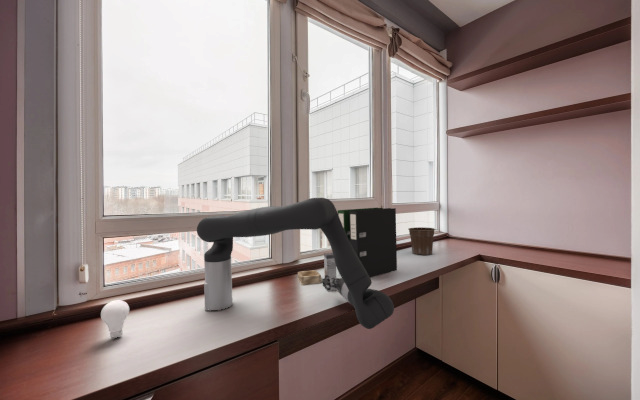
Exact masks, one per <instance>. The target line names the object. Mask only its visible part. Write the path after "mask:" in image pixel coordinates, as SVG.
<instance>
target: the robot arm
mask: <svg viewBox="0 0 640 400" xmlns="http://www.w3.org/2000/svg"><path fill="white" fill-rule="evenodd" d="M289 230H290V231H291V230H321V232H322V233H323V234H324V236H325V237H326V239H327V241H328V244H329V245H330V248H331V251H332V252H331V253H333V256H334V260H335V264H336V270H337V271H338V273H340V274H339V275H340V277H337V276H336V277H333V278H330V277H329V276H328V275H325V274H324V277H323V278H322V287H324V289H325V288H326V289H327V290H331V288H332V287H334V288H336V289H337V292H338V293H339V294H340V295H341V297H342V298H344V299H345V301H346V302H347V303H349V304H350V305H351V306H353V308H354V312H355V315H356V318H357V321H358V322H359V324H360V325H361V326H362V327H363V328H365V329H367V330H372V329H374V328H375V327H377V326H378V325H380V324H381V323H382V322H384V321H385V320H387V319H388V318H390V317H392V316H393V313H394V311H395V310H394V309H395V306H394V303H393V300H392V299H391V298H390V296H389V295H388V294H386V293H385V292H383V291H382V290H379V289H378V290H377V289H373V288H370V287H371V286H372V283H373V281H372V279H371V278H372V277H371V278H370V277H369V275H368V274H367V271H366V270H365V268H364V266H363V265H362V263H361V261H360V260H359V258H358V256H357V254H356V253H355V251H354V249H353V247H352V245H351V243H350V241H349V239H348V237H347V235H346V232H345V230H344V228H343V226H342V223H341V221H340V218H339V215H338V209H337V208H336V207H335V204H334V203H333V201H331V200H330V199H329V198H326V197H311V198H307V199H304V200H301V201H298V202H295V203H292V204H288V205H283V206H282V205H281V206H280V205H279V206H277V205H276V206H274V205H273V206H263V207H257V208H252V209H248V210H244V211H240V212H236V213H234V214H233V213H232V214H230V215H220V214H219V215H212V216H207V217H204V218H202V219H201V220H200V221H199V222H198V224H197V226H196V235H197V236H198V238H200V239H201V241H204V242H205V243H212V245H211V246H210V248H209V249H208V250H207V251H205V252H204V255H203V260H204V261H203V262H204V265H203V266H204V284H203V287H204V288H203V290H204V292H203V293H204V294H203V295H204V311H211V310H218V311H222V310H221V309H223V310H226V309H229V308H231V307H232V306H233V274H232V253H233V250H234V238H251V237H255V238H256V237H262V236H270V235H275V234H278V233H281V232H284V231H289ZM330 280H331V282H330ZM335 280H336V281H335ZM326 289H325V290H326ZM327 290H326V291H327ZM231 305H232V306H231ZM228 307H229V308H228ZM225 308H226V309H225ZM208 309H209V310H208Z"/></svg>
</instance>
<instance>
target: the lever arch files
mask: <svg viewBox="0 0 640 400" xmlns="http://www.w3.org/2000/svg"><path fill="white" fill-rule="evenodd" d="M396 211H397V208H396V207H394V208H392V207H388V208H387V207H386V208H383V207H368V208H367V207H366V208H365V207H364V208H355V209H354V208H353V209H337V213H338V215H339V218H340V221H341V223H342V226H343V228H344V230H345V232H346V235H347V237H348V239H349V241H350V243H351V245H352V247H353V249H354V251H355V253H356V254H357V256H358V258H359V260H360V261H361V263H362V265H363V266H364V268H365V270H366V271H367V274H368V275H369V277H370V278H374V277H378V276H381V275H385V274H389V273H392V272H395V271H397V270H398V258H397V254H398V253H397V212H396ZM338 273H339V272H338ZM339 275H340V273H339Z"/></svg>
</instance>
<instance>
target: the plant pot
mask: <svg viewBox="0 0 640 400" xmlns="http://www.w3.org/2000/svg"><path fill="white" fill-rule="evenodd" d="M435 230H436V229H435V227H420V226H419V227H409V228H408V232H409V237H410V243H411V252H412V254H414V255H417V256H419V255H421V256H430V255H432V254H433V249H434V248H433V247H434V245H433V244H434V235H435Z"/></svg>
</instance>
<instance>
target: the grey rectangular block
mask: <svg viewBox="0 0 640 400" xmlns="http://www.w3.org/2000/svg"><path fill="white" fill-rule="evenodd" d="M323 262H324V263H323V266H324V268H323V269H324V276H325V275H328V276H329V277H330V278H333V277H336V278H337V267H336V264H335V260H334V256H333V252H325V253H323ZM335 281H336V280H335ZM330 282H331V280H330ZM324 289H325V290H326V292H334V291H338V289H336V288H334V287H332V288H331V290H327V289H326V288H325V287H324Z"/></svg>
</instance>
